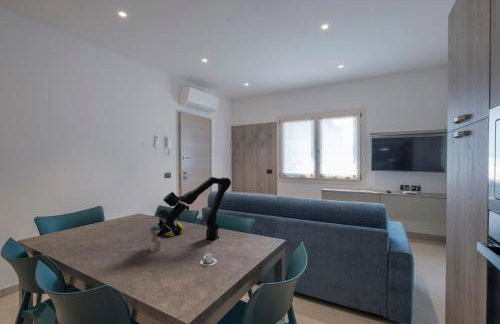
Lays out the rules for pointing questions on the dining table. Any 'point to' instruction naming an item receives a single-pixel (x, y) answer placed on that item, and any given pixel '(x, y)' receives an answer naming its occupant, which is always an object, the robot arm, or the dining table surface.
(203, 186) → the robot arm
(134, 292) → the dining table surface
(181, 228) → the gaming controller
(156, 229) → the birch block
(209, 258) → the teacup and saucer
